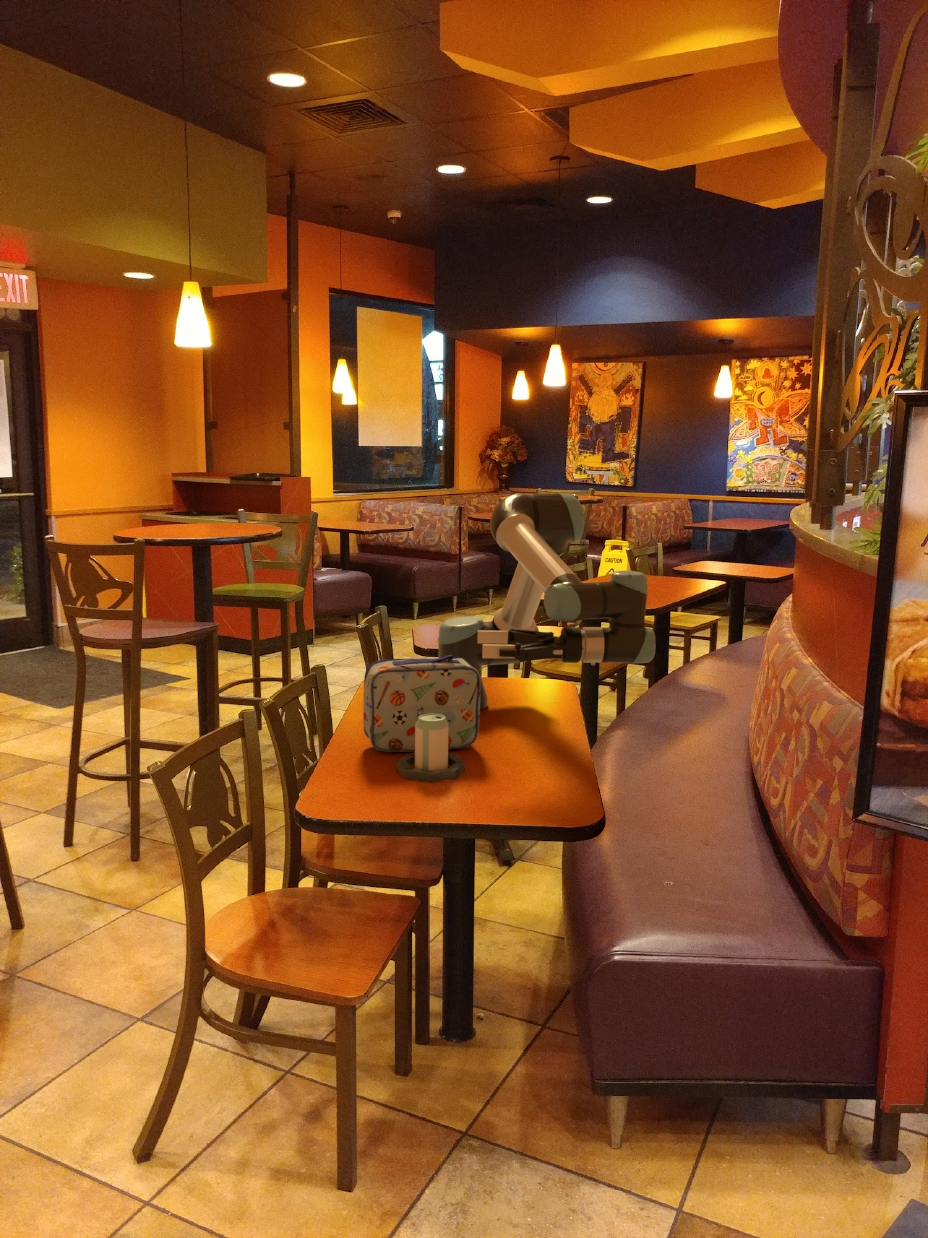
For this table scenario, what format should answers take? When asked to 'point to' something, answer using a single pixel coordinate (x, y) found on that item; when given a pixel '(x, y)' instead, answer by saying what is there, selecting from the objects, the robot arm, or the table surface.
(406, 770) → the ring
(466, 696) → the lunch box
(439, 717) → the can
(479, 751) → the table surface
